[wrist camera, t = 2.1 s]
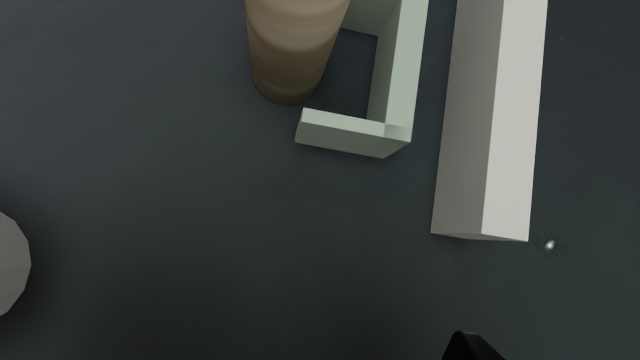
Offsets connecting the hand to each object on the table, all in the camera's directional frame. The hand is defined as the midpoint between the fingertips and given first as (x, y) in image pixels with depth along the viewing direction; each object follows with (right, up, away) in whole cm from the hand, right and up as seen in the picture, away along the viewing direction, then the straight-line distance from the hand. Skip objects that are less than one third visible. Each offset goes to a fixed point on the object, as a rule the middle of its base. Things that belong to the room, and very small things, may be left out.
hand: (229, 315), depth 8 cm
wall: (+9, +7, +14) cm, 18 cm away
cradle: (+3, +8, +14) cm, 16 cm away
